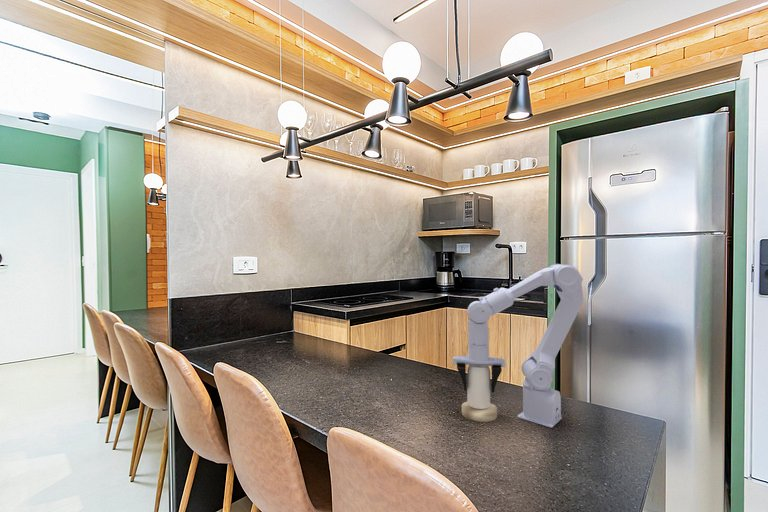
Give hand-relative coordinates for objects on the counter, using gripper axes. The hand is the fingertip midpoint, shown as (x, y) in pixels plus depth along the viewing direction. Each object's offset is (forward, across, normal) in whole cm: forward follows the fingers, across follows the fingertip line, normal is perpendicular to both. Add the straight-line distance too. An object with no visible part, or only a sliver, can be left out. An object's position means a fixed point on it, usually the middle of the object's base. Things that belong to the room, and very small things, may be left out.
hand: (478, 390), depth 105 cm
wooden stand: (+7, 0, 0) cm, 7 cm away
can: (+5, 0, -1) cm, 5 cm away
